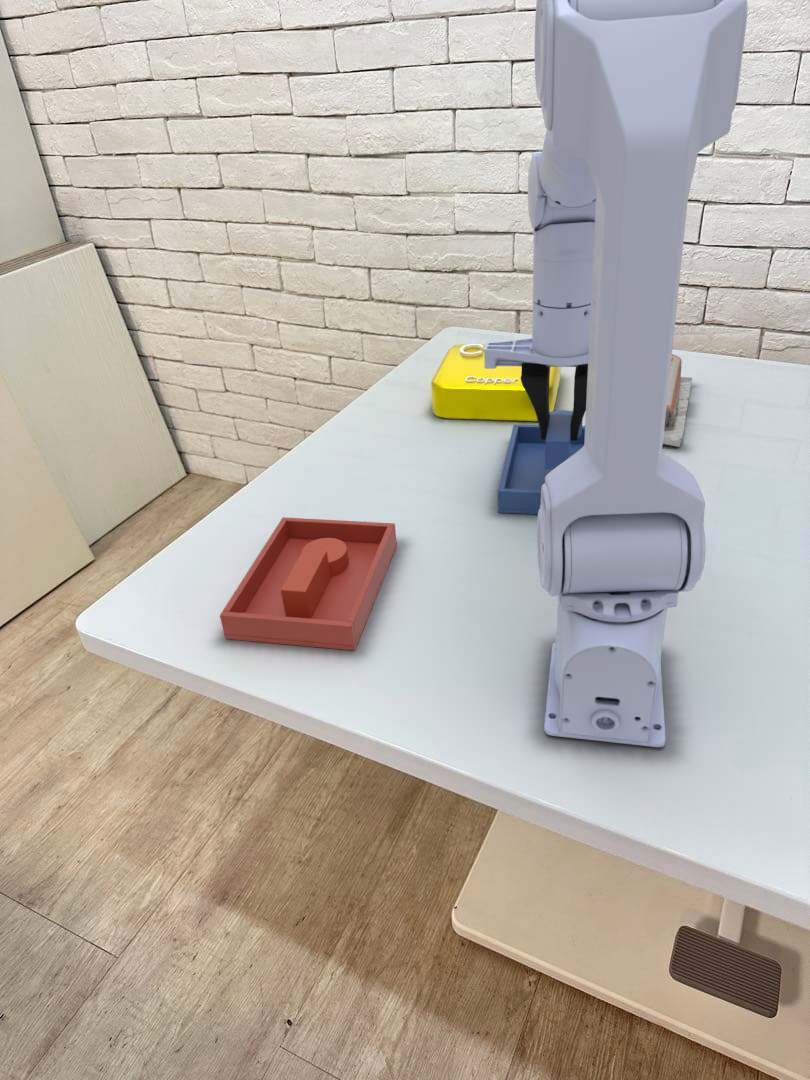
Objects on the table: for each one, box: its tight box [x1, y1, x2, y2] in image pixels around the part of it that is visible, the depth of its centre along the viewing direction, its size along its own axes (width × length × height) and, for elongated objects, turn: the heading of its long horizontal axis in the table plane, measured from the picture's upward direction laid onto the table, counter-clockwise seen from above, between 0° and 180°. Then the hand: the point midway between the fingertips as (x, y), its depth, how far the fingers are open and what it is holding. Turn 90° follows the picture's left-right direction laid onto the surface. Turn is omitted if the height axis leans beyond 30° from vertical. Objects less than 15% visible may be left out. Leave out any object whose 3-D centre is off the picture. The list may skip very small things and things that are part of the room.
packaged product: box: [663, 353, 693, 448], centre depth 95 cm, size 18×5×10 cm
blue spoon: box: [545, 409, 584, 469], centre depth 79 cm, size 10×4×3 cm, turn 168°
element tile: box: [430, 343, 562, 422], centre depth 102 cm, size 15×15×5 cm
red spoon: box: [281, 538, 349, 619], centre depth 70 cm, size 10×4×3 cm, turn 168°
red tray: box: [219, 516, 398, 651], centre depth 70 cm, size 15×11×2 cm
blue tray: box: [497, 423, 585, 515], centre depth 84 cm, size 15×11×2 cm
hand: (559, 435), depth 79 cm, fingers closed on blue spoon, 2 cm apart
